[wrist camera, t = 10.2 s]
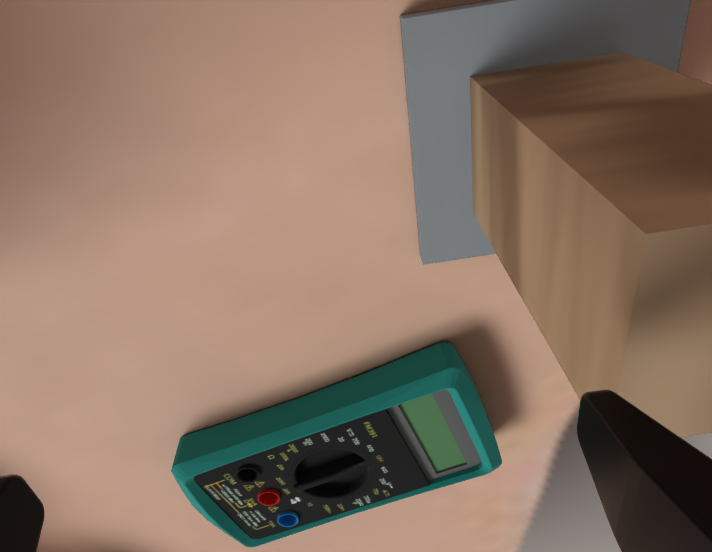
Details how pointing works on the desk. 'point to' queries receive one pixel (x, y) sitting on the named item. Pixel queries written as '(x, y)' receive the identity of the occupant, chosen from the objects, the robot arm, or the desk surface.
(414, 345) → the desk surface
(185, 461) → the digital multimeter
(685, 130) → the walnut block
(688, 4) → the grey pad
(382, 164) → the desk surface
